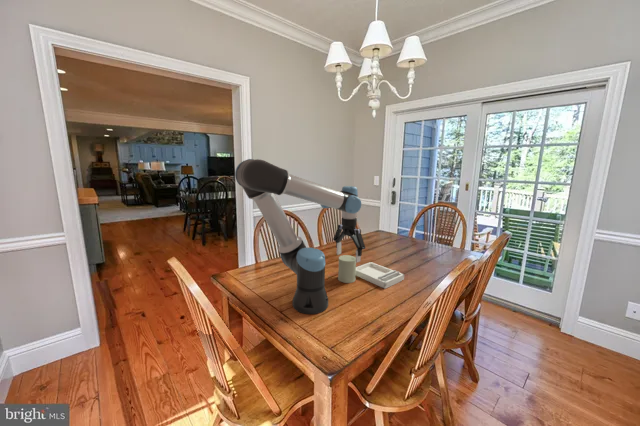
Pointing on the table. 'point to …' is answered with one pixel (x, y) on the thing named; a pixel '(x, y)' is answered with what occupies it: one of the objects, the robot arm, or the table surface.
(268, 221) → the robot arm
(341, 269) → the can
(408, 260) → the table surface
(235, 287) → the table surface
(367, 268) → the rack
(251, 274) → the table surface
